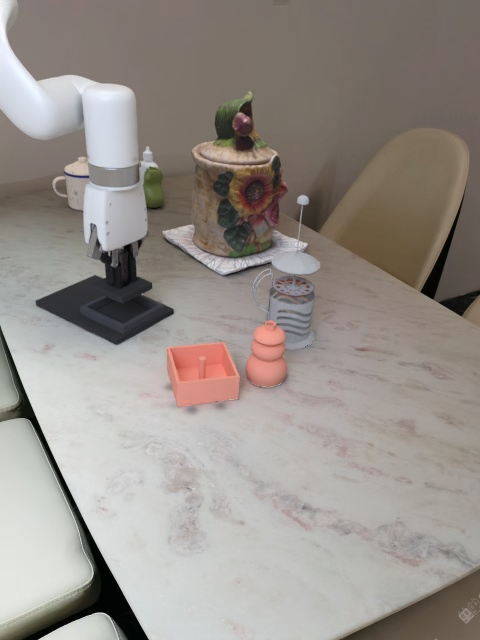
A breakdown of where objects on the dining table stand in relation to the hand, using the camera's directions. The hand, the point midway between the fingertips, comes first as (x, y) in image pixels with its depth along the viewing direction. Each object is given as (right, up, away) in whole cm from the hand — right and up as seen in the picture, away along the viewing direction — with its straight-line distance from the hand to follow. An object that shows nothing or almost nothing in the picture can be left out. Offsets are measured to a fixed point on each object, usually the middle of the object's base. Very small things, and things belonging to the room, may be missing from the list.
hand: (121, 281), depth 101 cm
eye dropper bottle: (-7, +31, +58) cm, 66 cm away
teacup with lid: (-22, +25, +47) cm, 57 cm away
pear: (-4, +25, +50) cm, 56 cm away
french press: (+27, -9, +4) cm, 29 cm away
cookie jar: (+17, +12, +34) cm, 40 cm away
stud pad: (0, -1, +1) cm, 2 cm away
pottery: (+19, -17, -9) cm, 27 cm away
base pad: (-4, -4, +6) cm, 9 cm away
